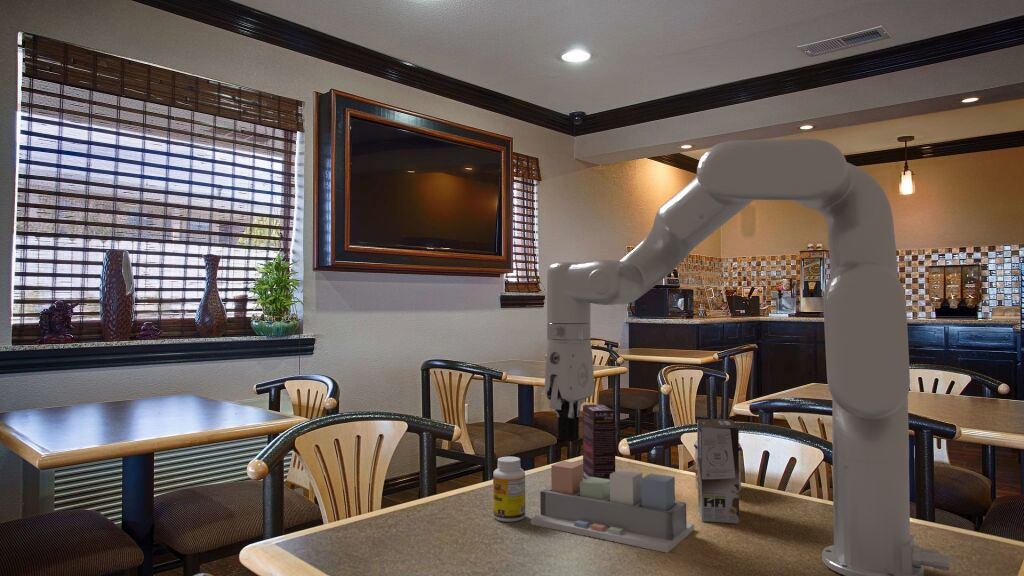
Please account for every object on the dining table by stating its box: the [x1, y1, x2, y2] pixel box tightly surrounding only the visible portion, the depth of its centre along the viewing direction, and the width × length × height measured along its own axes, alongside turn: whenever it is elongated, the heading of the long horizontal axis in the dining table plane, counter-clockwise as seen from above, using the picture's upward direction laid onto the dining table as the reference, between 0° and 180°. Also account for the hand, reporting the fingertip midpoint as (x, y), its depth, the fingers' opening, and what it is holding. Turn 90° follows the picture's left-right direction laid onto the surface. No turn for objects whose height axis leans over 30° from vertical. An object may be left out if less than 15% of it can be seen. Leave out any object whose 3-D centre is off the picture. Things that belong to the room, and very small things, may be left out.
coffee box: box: [696, 418, 740, 524], centre depth 119 cm, size 9×6×16 cm
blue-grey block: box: [641, 473, 676, 511], centre depth 108 cm, size 4×4×5 cm
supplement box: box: [582, 404, 616, 480], centre depth 138 cm, size 9×5×16 cm, turn 9°
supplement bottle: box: [492, 456, 526, 523], centre depth 118 cm, size 6×6×10 cm
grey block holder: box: [530, 485, 695, 554], centre depth 113 cm, size 24×12×5 cm, turn 57°
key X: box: [610, 468, 643, 505], centre depth 111 cm, size 4×4×5 cm
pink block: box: [550, 460, 583, 495], centre depth 117 cm, size 4×4×5 cm
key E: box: [580, 477, 610, 500], centre depth 114 cm, size 4×4×5 cm
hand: (568, 439), depth 117 cm, fingers closed
